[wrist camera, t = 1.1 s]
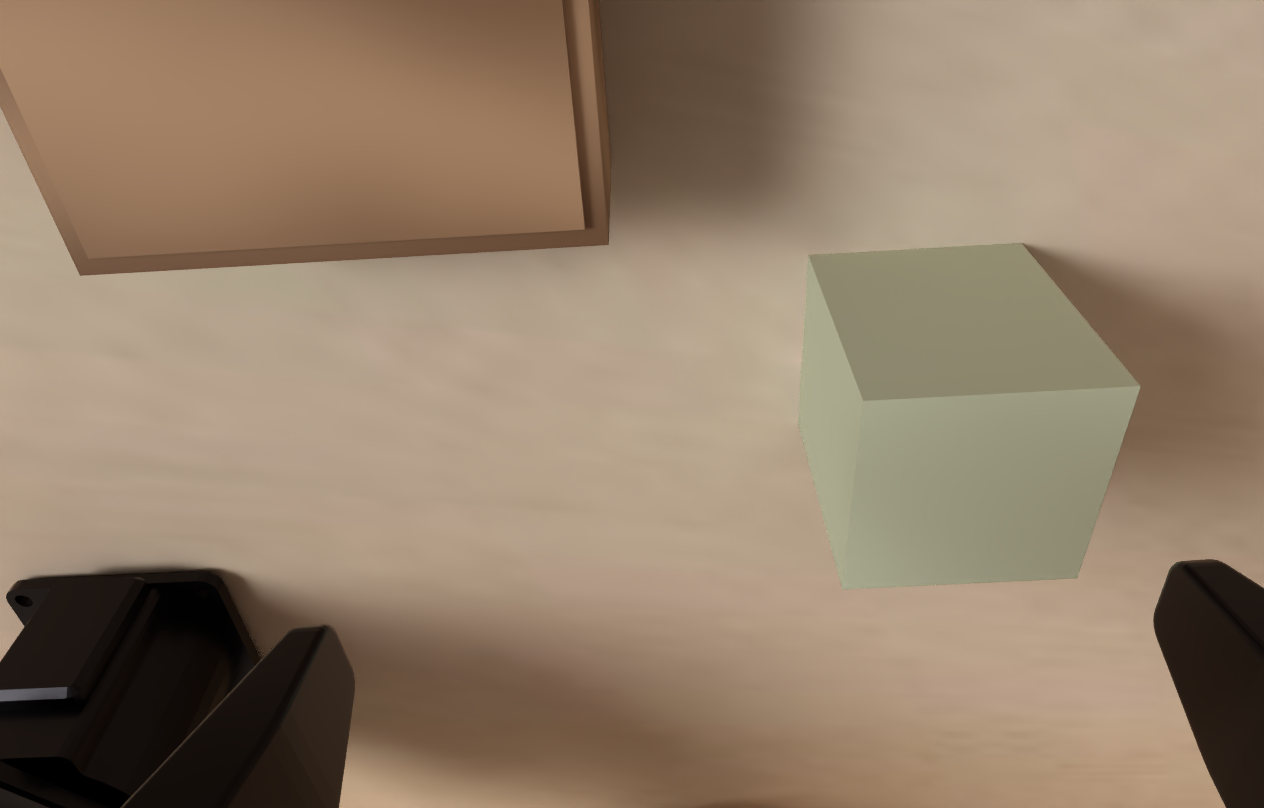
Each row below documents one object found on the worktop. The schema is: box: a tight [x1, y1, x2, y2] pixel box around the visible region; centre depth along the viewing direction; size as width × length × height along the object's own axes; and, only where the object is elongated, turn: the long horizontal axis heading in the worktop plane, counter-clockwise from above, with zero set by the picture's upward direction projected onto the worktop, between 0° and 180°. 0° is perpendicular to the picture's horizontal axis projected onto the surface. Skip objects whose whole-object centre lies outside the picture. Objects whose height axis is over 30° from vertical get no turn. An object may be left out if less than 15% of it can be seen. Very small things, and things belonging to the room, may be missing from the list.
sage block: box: [798, 243, 1141, 590], centre depth 20 cm, size 5×5×6 cm
